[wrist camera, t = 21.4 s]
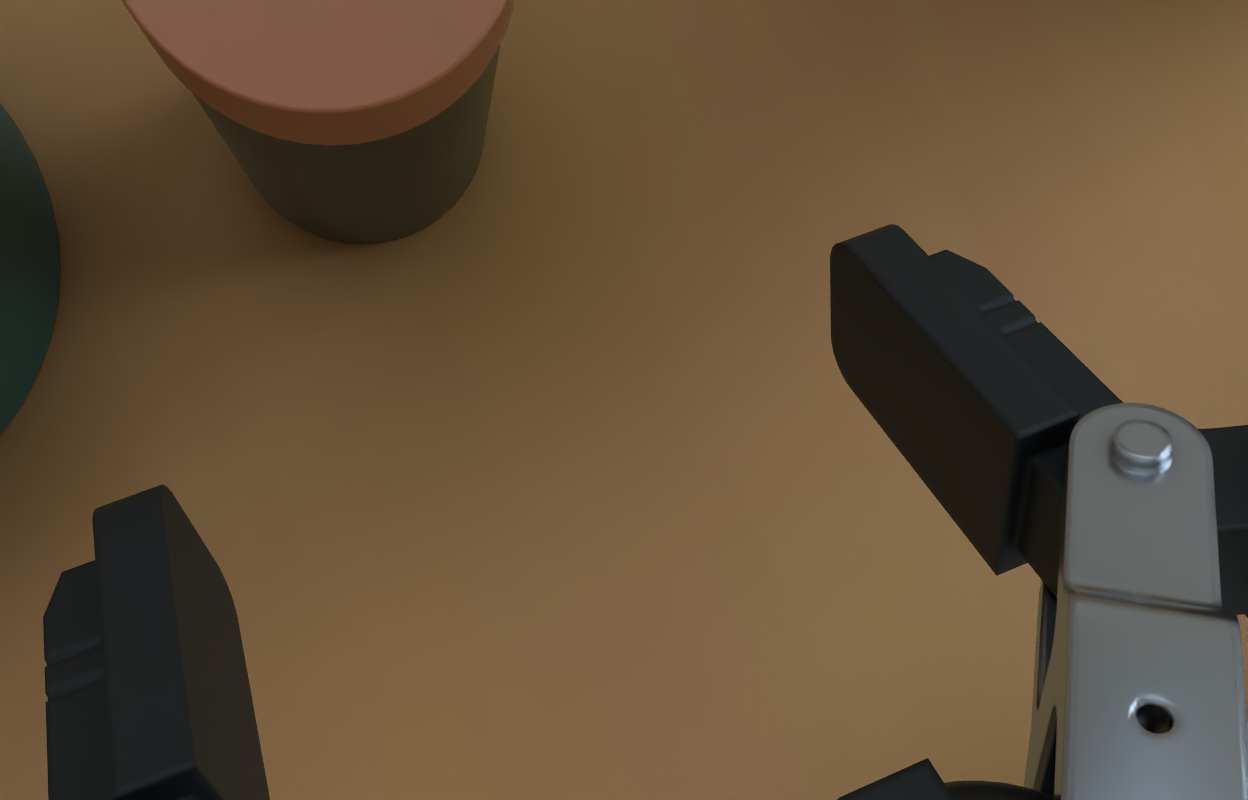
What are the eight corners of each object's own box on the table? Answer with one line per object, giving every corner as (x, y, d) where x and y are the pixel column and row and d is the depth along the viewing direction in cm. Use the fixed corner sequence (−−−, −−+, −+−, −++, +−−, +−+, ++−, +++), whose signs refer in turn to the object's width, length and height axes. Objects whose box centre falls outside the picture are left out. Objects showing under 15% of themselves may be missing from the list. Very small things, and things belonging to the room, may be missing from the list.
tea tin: (447, -28, 28) (459, -338, 17) (519, 212, 28) (577, 57, 17) (197, 30, 27) (36, -260, 16) (271, 277, 27) (161, 160, 16)
